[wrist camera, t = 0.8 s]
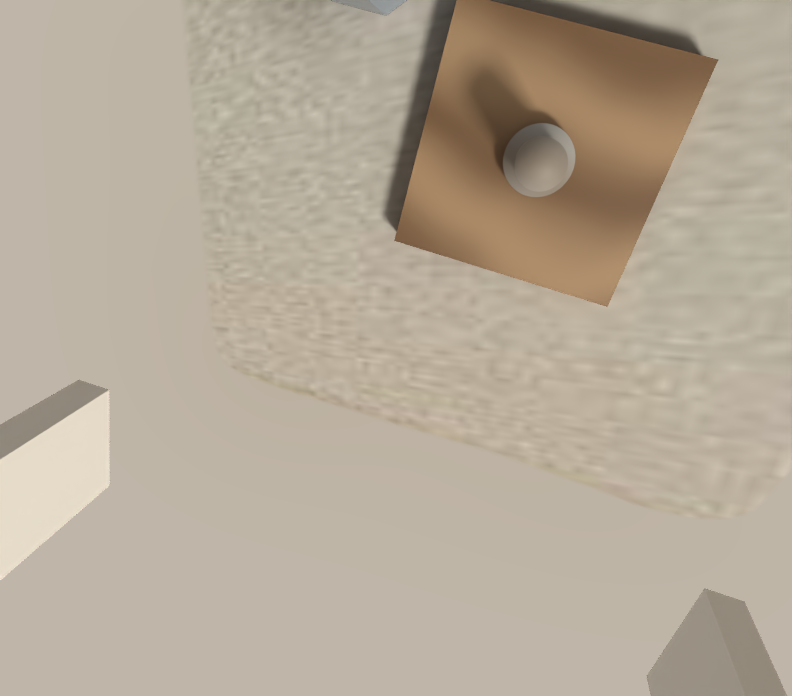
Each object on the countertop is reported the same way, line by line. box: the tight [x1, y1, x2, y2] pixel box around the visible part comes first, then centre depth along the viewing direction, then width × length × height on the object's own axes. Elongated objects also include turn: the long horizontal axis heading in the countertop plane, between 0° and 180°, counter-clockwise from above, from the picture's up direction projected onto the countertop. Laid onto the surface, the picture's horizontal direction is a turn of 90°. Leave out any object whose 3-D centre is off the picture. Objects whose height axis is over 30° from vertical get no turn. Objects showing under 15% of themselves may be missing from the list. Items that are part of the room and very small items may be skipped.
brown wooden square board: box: [394, 0, 718, 306], centre depth 26 cm, size 12×12×6 cm
